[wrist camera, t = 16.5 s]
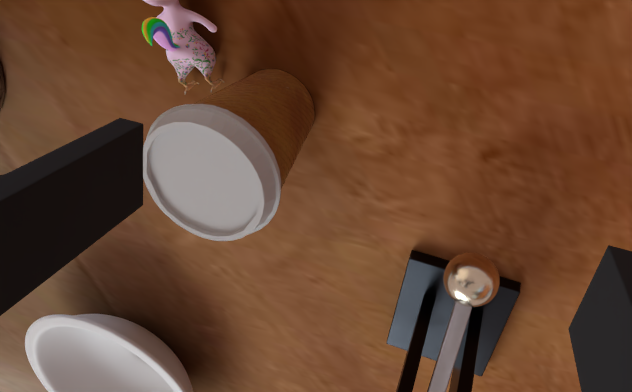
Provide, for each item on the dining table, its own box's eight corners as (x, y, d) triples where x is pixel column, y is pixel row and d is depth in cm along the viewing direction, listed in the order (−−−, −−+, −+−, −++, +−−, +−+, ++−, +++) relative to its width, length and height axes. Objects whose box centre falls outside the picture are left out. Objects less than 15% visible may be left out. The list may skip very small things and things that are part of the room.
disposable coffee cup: (230, 29, 41) (134, 90, 31) (348, 73, 39) (284, 150, 30) (217, 135, 46) (133, 213, 37) (319, 176, 45) (258, 268, 36)
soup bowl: (67, 244, 63) (23, 282, 58) (248, 346, 61) (220, 394, 56) (59, 353, 78) (24, 391, 73) (204, 437, 76) (179, 482, 71)
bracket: (412, 249, 46) (364, 391, 34) (520, 282, 44) (509, 445, 32) (389, 334, 52) (342, 477, 41) (483, 366, 50) (461, 527, 39)
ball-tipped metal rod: (452, 241, 38) (451, 251, 34) (504, 256, 37) (509, 268, 34) (394, 434, 40) (387, 462, 37) (442, 453, 40) (440, 483, 36)
